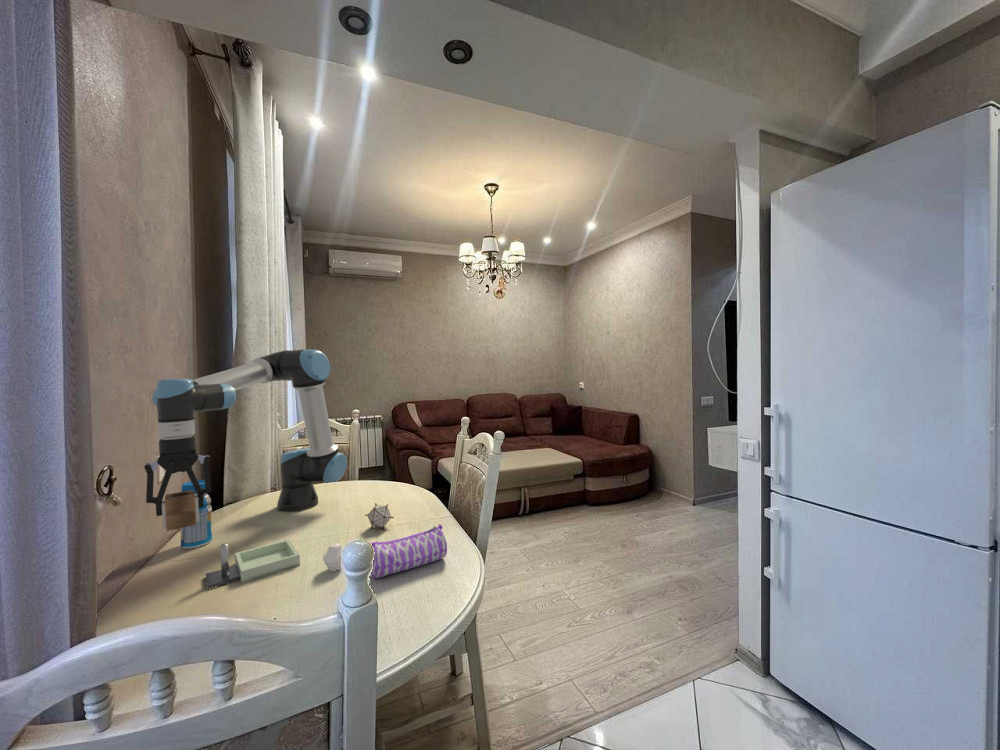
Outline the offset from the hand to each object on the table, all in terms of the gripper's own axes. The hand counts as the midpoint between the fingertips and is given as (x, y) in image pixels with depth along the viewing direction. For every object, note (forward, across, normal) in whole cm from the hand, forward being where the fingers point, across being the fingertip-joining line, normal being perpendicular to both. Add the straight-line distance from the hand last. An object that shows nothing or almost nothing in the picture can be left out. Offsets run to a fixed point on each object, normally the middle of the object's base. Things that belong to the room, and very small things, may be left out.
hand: (181, 523), depth 105 cm
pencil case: (+16, +49, -34) cm, 61 cm away
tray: (+15, +19, -5) cm, 25 cm away
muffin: (+16, +33, -21) cm, 42 cm away
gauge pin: (+15, +9, -6) cm, 19 cm away
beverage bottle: (+16, +4, +27) cm, 31 cm away
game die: (+16, +54, -1) cm, 56 cm away
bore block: (0, 0, 0) cm, 0 cm away
